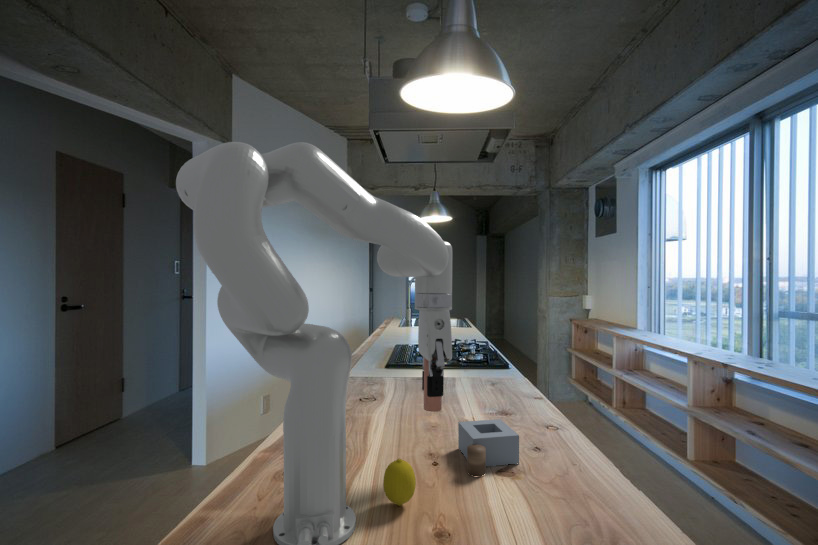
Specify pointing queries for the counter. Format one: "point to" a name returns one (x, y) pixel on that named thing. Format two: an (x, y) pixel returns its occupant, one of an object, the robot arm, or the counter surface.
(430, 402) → the long pin
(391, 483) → the lemon
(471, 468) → the short pin
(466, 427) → the hole block
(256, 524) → the counter surface
